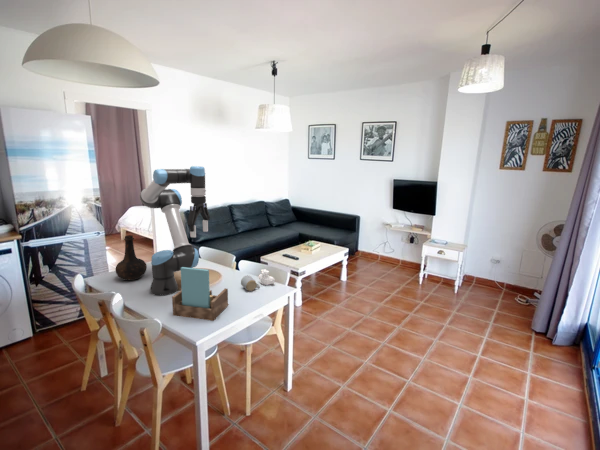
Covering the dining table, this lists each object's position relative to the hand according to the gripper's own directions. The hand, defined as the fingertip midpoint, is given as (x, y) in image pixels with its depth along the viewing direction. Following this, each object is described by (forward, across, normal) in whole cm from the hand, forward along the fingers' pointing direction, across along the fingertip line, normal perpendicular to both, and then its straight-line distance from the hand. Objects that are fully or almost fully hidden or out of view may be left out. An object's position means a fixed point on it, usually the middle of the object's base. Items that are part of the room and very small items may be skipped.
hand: (199, 234), depth 172 cm
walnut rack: (+37, -17, -9) cm, 41 cm away
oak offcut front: (+35, -19, -11) cm, 41 cm away
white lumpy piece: (+37, +27, -30) cm, 55 cm away
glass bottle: (+37, +14, +56) cm, 69 cm away
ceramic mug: (+37, +18, -23) cm, 47 cm away
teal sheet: (+35, -22, -9) cm, 43 cm away
